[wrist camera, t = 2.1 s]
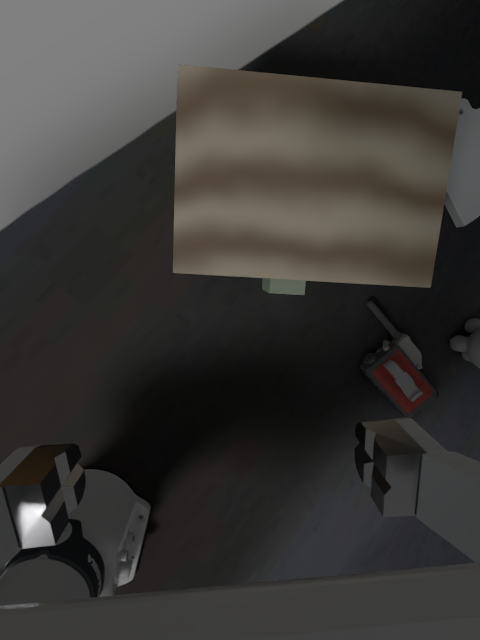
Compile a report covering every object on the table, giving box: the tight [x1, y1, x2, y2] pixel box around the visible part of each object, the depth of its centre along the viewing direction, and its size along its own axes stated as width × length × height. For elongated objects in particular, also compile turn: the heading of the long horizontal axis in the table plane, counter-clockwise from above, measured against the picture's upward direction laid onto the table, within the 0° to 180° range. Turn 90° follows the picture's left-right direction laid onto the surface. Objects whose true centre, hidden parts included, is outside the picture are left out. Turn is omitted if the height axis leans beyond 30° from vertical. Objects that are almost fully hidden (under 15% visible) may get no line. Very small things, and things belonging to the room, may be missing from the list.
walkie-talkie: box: [360, 300, 438, 418], centre depth 47 cm, size 9×4×20 cm
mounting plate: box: [444, 98, 480, 228], centre depth 44 cm, size 18×13×2 cm
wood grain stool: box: [173, 64, 462, 288], centre depth 36 cm, size 18×26×16 cm
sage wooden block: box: [262, 278, 306, 295], centre depth 42 cm, size 4×4×8 cm
